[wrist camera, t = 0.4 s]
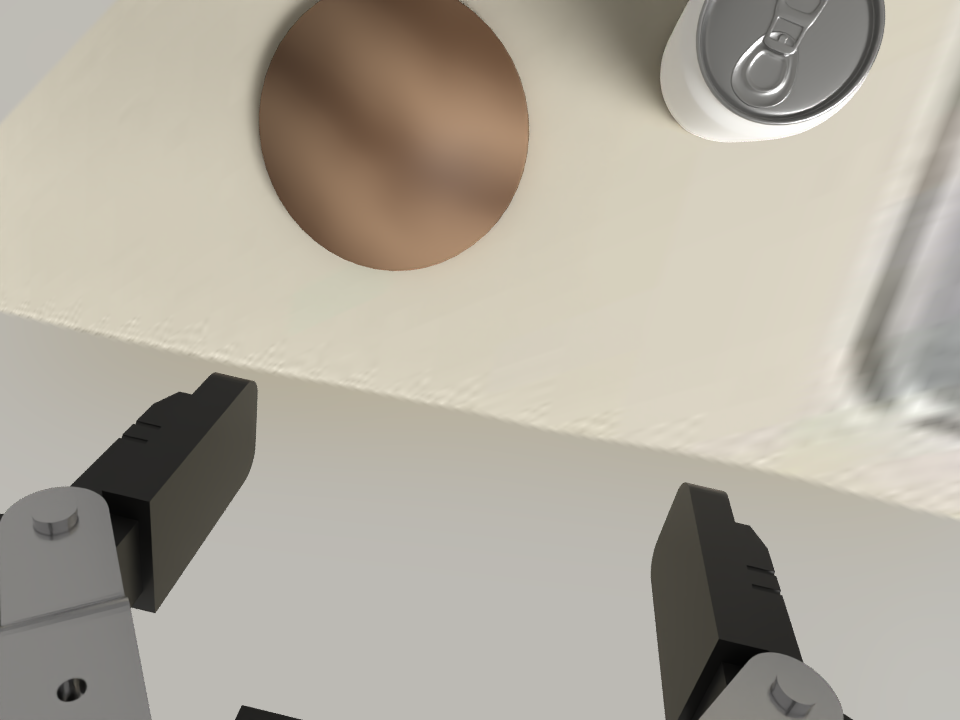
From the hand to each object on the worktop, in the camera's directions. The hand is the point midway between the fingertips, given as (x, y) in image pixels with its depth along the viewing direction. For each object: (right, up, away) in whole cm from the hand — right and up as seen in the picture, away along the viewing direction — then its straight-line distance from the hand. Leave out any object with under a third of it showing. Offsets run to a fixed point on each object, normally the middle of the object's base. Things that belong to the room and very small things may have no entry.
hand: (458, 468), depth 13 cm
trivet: (-4, +14, +24) cm, 28 cm away
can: (+12, +16, +21) cm, 29 cm away
